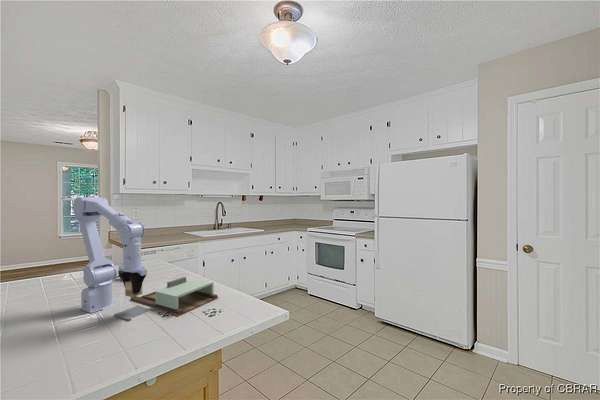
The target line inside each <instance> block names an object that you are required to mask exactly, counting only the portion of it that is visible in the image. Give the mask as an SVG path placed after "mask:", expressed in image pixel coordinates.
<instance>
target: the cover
mask: <svg viewBox="0 0 600 400" xmlns="http://www.w3.org/2000/svg"><path fill="white" fill-rule="evenodd" d="M166 284H167V285H166V287H164V288H161V289H157V290H155V291H154V292H155V304H158V305H162V306H165V307H169V308H172V309H178V298H179V297H181V296H184V295H186V294H189V293H192V292H194V291H200V292H204V293H208V294H215V293H214V291H215V290H214V282H213V281H210V280H205V279H199V278H194V277H193V278H191V279H188V280H187V277H185V276H182V277H179V278H175V279H173V280H170V281H167V282H166Z"/></svg>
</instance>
